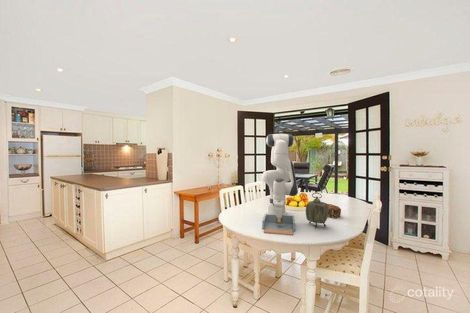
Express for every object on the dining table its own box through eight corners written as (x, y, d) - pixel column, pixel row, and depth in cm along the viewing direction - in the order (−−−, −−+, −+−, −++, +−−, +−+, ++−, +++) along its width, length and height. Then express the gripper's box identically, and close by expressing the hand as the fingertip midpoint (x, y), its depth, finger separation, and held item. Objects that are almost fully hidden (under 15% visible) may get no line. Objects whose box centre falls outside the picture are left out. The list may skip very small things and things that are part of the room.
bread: (314, 214, 194) (314, 203, 194) (320, 212, 201) (320, 201, 201) (335, 219, 180) (336, 207, 180) (341, 216, 187) (341, 204, 187)
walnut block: (275, 221, 162) (275, 214, 162) (282, 221, 161) (282, 215, 161) (275, 223, 157) (275, 216, 157) (282, 224, 156) (282, 217, 156)
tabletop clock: (327, 226, 163) (328, 192, 162) (326, 230, 155) (326, 194, 154) (307, 223, 170) (308, 190, 169) (305, 226, 162) (305, 192, 162)
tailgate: (264, 228, 153) (263, 231, 146) (292, 230, 149) (293, 234, 142) (264, 230, 153) (263, 233, 146) (292, 232, 149) (293, 236, 142)
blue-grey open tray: (264, 223, 170) (264, 213, 170) (294, 225, 165) (294, 215, 165) (262, 230, 153) (262, 220, 153) (295, 233, 148) (295, 223, 148)
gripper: (275, 198, 170) (275, 216, 170) (274, 204, 150) (274, 224, 150) (283, 198, 169) (283, 216, 169) (283, 204, 149) (283, 225, 149)
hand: (279, 220), depth 159 cm, fingers closed on walnut block, 5 cm apart
